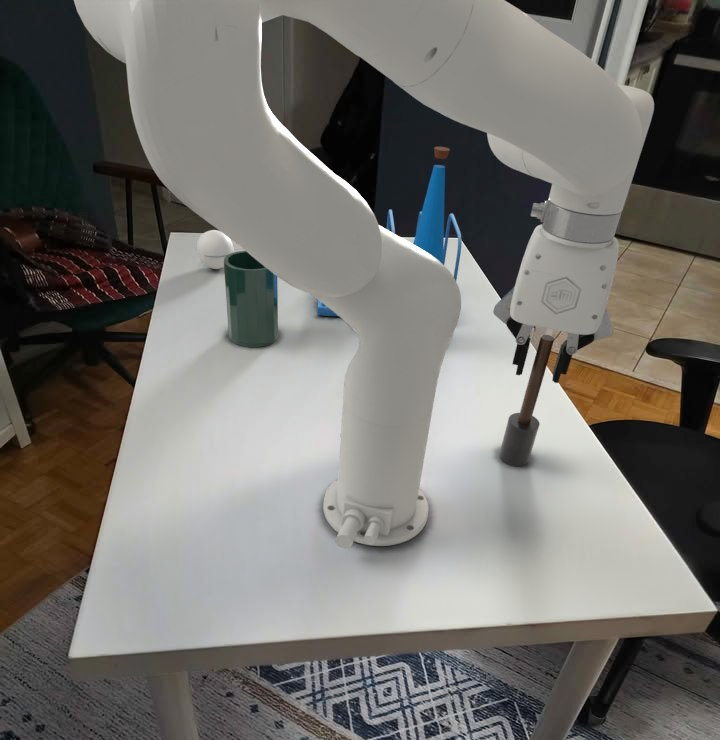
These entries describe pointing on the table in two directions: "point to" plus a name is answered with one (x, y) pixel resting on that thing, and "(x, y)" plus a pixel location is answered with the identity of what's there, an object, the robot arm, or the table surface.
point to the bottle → (433, 211)
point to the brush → (526, 412)
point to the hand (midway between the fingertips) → (537, 372)
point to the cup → (250, 301)
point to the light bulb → (214, 248)
